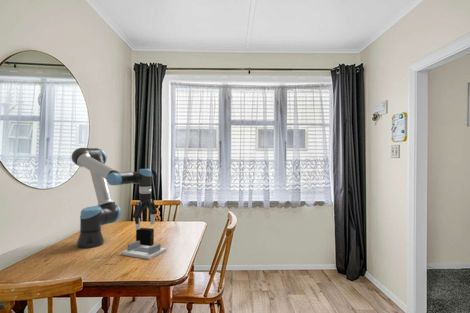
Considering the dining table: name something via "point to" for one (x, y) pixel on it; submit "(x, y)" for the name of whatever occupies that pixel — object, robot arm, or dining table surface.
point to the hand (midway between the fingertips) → (145, 226)
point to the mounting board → (143, 250)
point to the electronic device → (145, 236)
